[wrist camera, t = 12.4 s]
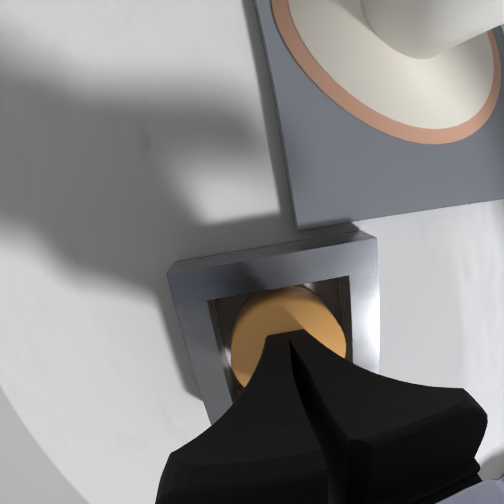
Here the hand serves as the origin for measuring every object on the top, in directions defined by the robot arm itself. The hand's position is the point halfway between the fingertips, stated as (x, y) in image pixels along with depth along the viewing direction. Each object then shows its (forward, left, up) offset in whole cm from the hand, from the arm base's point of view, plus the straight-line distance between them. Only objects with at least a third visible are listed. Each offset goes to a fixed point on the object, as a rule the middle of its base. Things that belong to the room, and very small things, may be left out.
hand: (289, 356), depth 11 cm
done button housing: (0, 0, -2) cm, 2 cm away
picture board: (-11, -11, -2) cm, 16 cm away
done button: (0, 0, -2) cm, 2 cm away
